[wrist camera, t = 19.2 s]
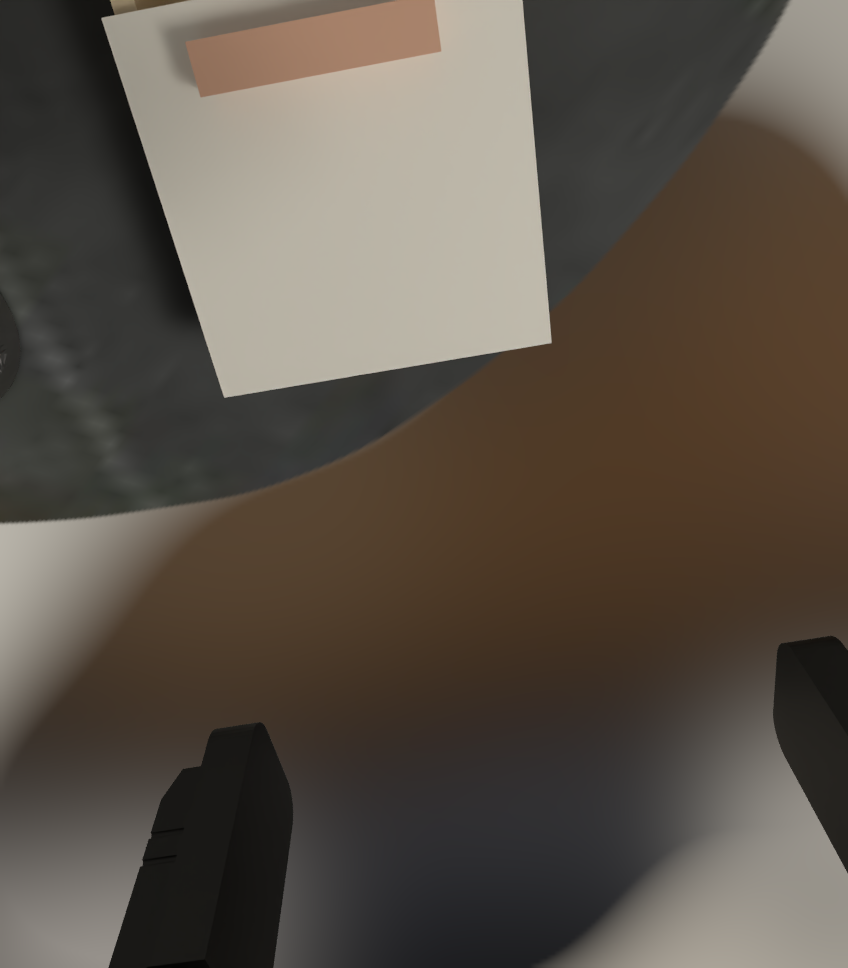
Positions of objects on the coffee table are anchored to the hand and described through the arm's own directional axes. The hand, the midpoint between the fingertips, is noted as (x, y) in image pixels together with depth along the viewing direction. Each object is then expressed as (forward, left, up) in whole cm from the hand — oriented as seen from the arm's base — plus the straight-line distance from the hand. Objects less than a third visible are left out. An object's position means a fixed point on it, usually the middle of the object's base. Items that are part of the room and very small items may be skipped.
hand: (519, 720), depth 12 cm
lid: (-3, +5, -22) cm, 23 cm away
